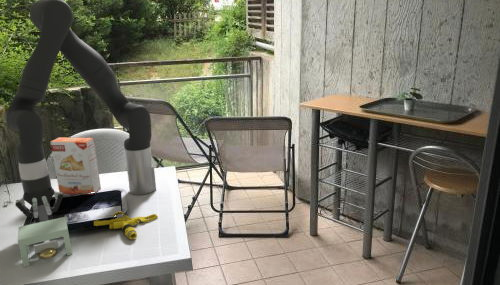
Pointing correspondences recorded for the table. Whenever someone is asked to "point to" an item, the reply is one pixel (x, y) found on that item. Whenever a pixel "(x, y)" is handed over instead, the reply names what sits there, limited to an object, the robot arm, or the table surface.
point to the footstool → (42, 235)
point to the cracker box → (75, 165)
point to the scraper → (52, 244)
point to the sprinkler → (125, 223)
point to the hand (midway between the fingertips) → (45, 225)
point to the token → (47, 253)
